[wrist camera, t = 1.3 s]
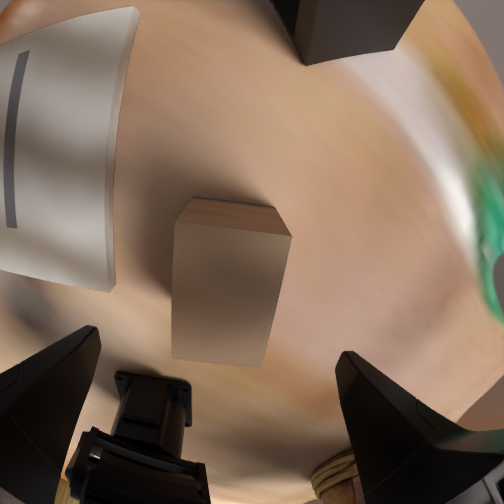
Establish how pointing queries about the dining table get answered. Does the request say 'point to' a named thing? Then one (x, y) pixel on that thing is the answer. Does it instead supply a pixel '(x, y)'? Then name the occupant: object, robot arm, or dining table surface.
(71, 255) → the board
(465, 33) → the dining table surface
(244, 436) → the dining table surface
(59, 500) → the potted cactus
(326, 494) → the tankard
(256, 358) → the block
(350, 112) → the dining table surface
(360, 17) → the phone stand
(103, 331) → the dining table surface
